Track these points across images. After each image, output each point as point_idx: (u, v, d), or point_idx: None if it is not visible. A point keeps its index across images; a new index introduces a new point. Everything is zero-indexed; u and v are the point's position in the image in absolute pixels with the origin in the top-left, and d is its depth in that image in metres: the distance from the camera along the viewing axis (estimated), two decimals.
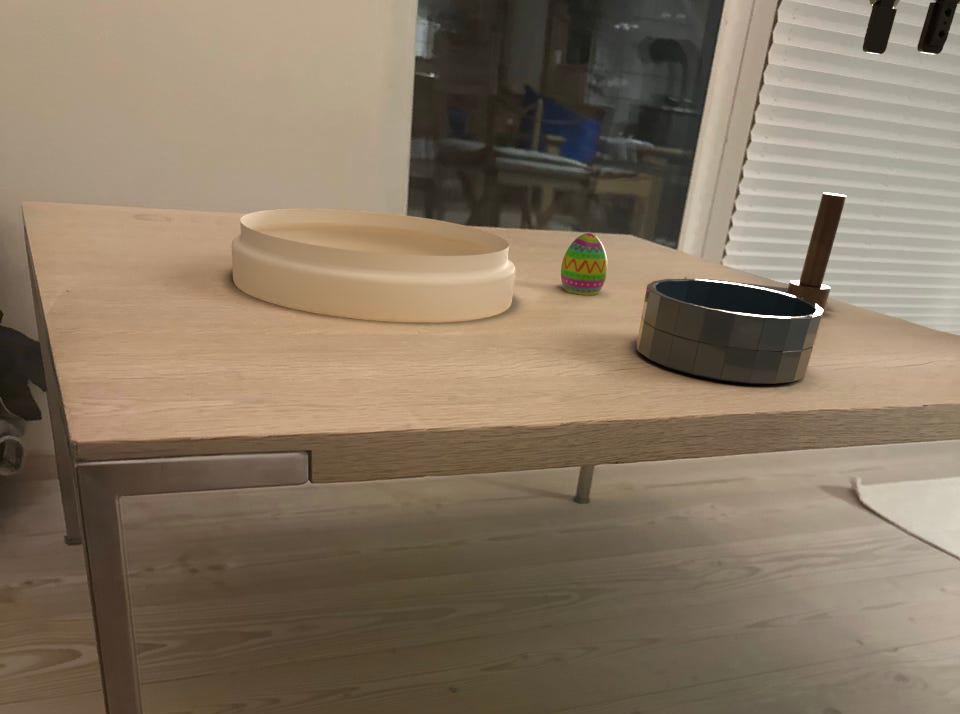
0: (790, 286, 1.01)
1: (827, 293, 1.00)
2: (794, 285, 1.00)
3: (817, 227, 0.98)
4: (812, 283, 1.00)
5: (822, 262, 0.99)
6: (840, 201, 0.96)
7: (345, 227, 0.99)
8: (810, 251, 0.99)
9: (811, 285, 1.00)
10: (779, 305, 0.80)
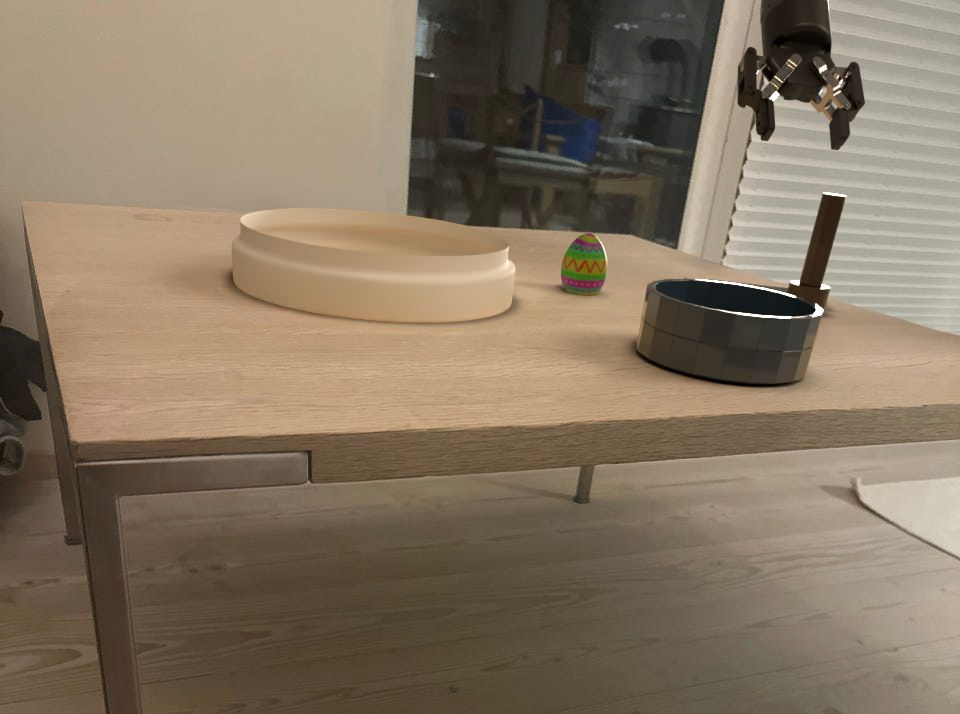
0: (790, 286, 1.01)
1: (827, 293, 1.00)
2: (794, 285, 1.00)
3: (817, 227, 0.98)
4: (812, 283, 1.00)
5: (822, 262, 0.99)
6: (840, 201, 0.96)
7: (345, 227, 0.99)
8: (810, 251, 0.99)
9: (811, 285, 1.00)
10: (779, 305, 0.80)
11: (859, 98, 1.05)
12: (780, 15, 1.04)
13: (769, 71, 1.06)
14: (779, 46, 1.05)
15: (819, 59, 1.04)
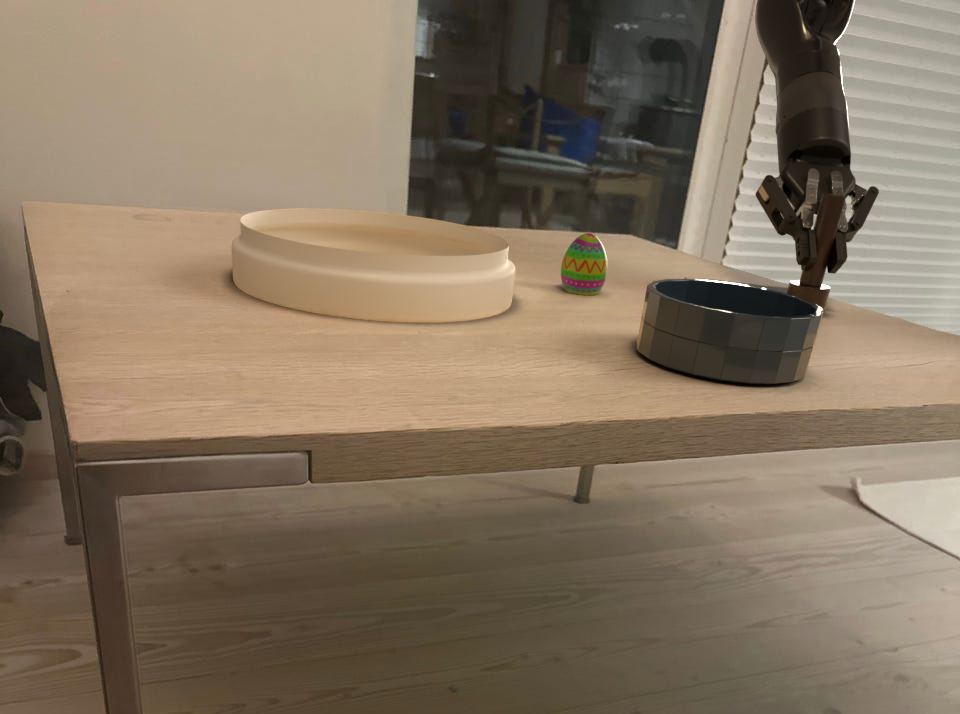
0: (790, 286, 1.01)
1: (827, 293, 1.00)
2: (794, 285, 1.00)
3: (817, 227, 0.98)
4: (812, 283, 1.00)
5: (822, 262, 0.99)
6: (840, 201, 0.96)
7: (345, 227, 0.99)
8: None
9: (811, 285, 1.00)
10: (779, 305, 0.80)
11: (858, 219, 0.99)
12: (796, 128, 0.99)
13: (785, 185, 1.01)
14: (795, 160, 1.00)
15: (838, 174, 0.99)
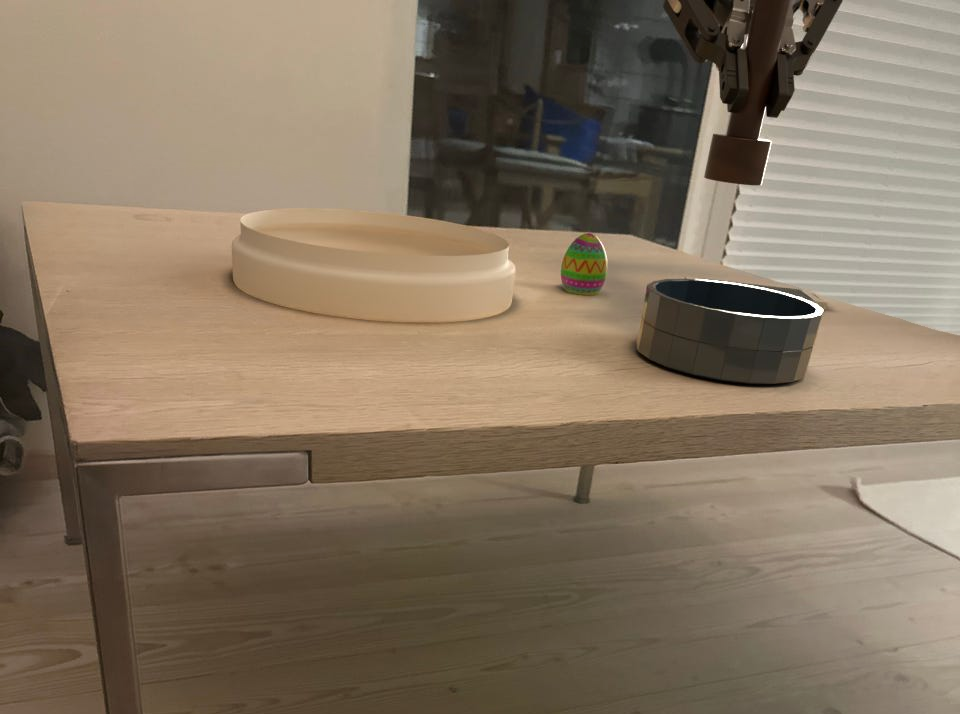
0: (713, 139, 0.69)
1: (767, 148, 0.69)
2: (718, 136, 0.69)
3: (749, 44, 0.66)
4: (744, 133, 0.68)
5: (758, 99, 0.67)
6: (781, 1, 0.64)
7: (345, 227, 0.99)
8: None
9: (742, 136, 0.68)
10: (779, 305, 0.80)
11: (812, 37, 0.67)
12: None
13: None
14: None
15: None
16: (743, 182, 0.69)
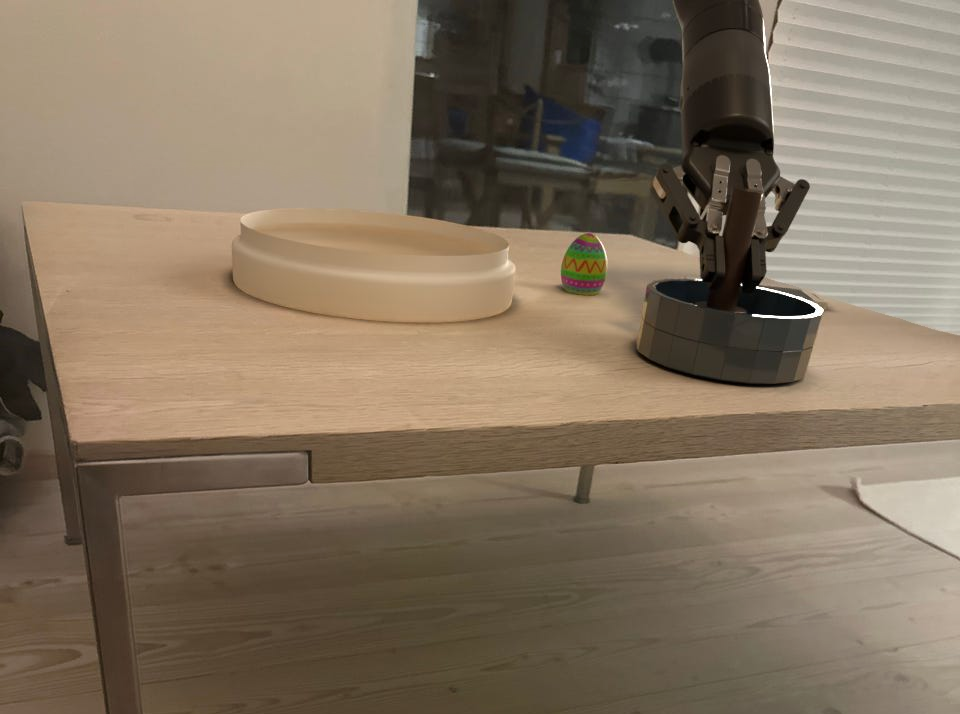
0: None
1: None
2: None
3: (726, 233, 0.74)
4: (722, 306, 0.77)
5: (734, 278, 0.75)
6: (754, 199, 0.72)
7: (345, 227, 0.99)
8: None
9: (721, 308, 0.77)
10: (779, 305, 0.80)
11: (782, 223, 0.75)
12: (701, 102, 0.76)
13: (688, 177, 0.77)
14: (701, 144, 0.76)
15: (756, 164, 0.76)
16: None
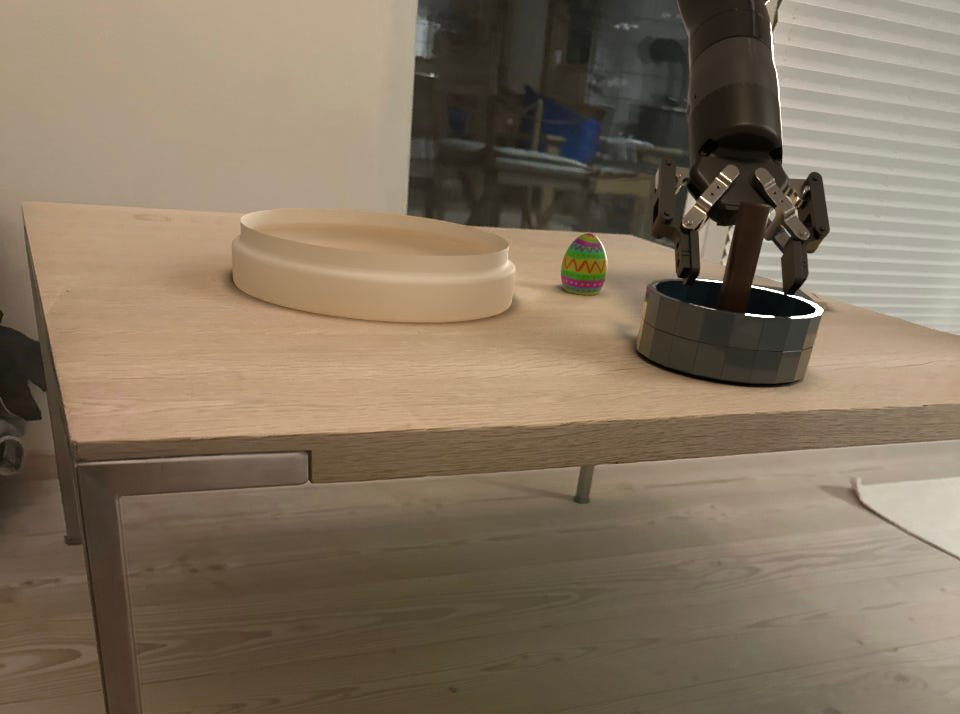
0: None
1: None
2: None
3: (734, 247, 0.73)
4: None
5: (742, 293, 0.74)
6: (762, 214, 0.71)
7: (345, 227, 0.99)
8: (726, 279, 0.74)
9: None
10: (779, 305, 0.80)
11: (821, 223, 0.75)
12: (709, 111, 0.75)
13: (696, 187, 0.76)
14: (709, 153, 0.75)
15: (764, 171, 0.74)
16: None
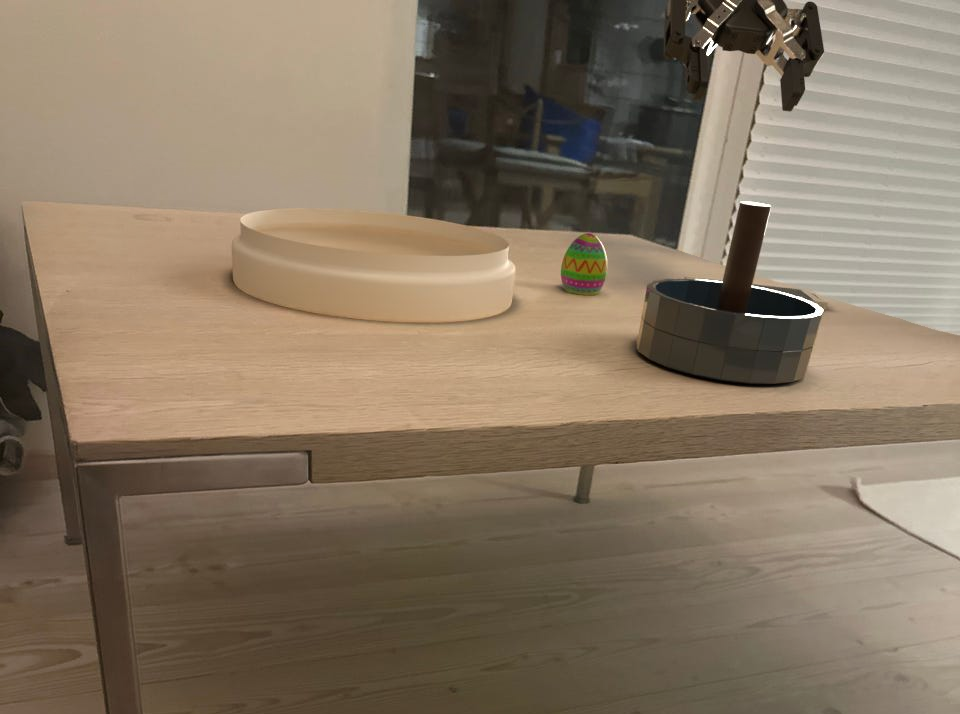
0: None
1: None
2: None
3: (734, 247, 0.73)
4: None
5: (742, 293, 0.74)
6: (762, 214, 0.71)
7: (345, 227, 0.99)
8: (726, 279, 0.74)
9: None
10: (779, 305, 0.80)
11: (816, 45, 0.83)
12: None
13: (704, 15, 0.85)
14: None
15: None
16: None
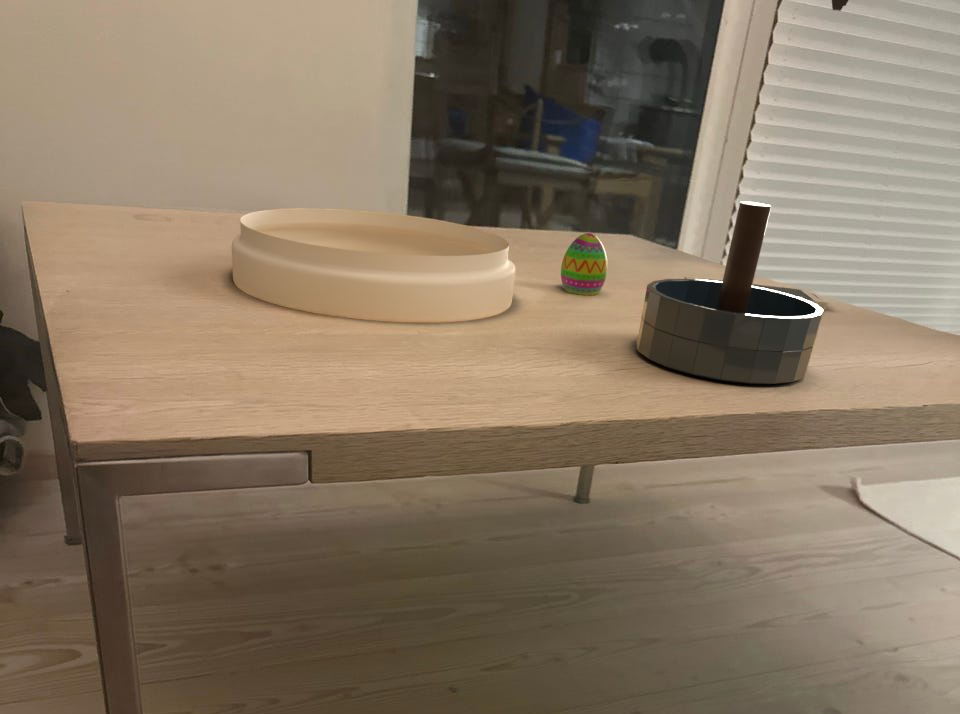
0: None
1: None
2: None
3: (734, 247, 0.73)
4: None
5: (742, 293, 0.74)
6: (762, 214, 0.71)
7: (345, 227, 0.99)
8: (726, 279, 0.74)
9: None
10: (779, 305, 0.80)
11: None
12: None
13: None
14: None
15: None
16: None
